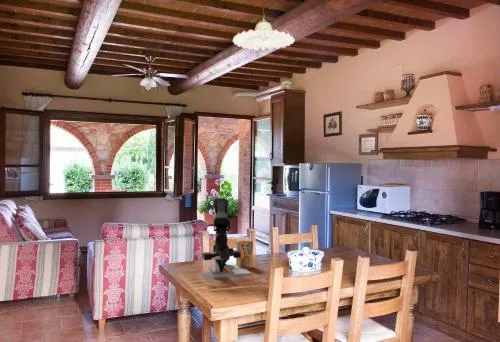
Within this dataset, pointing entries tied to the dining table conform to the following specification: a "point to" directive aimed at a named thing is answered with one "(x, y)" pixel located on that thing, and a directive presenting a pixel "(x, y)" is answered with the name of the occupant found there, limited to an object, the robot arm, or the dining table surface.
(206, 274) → the socket board
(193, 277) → the dining table surface
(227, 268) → the clip
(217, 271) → the plug
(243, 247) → the candy box
